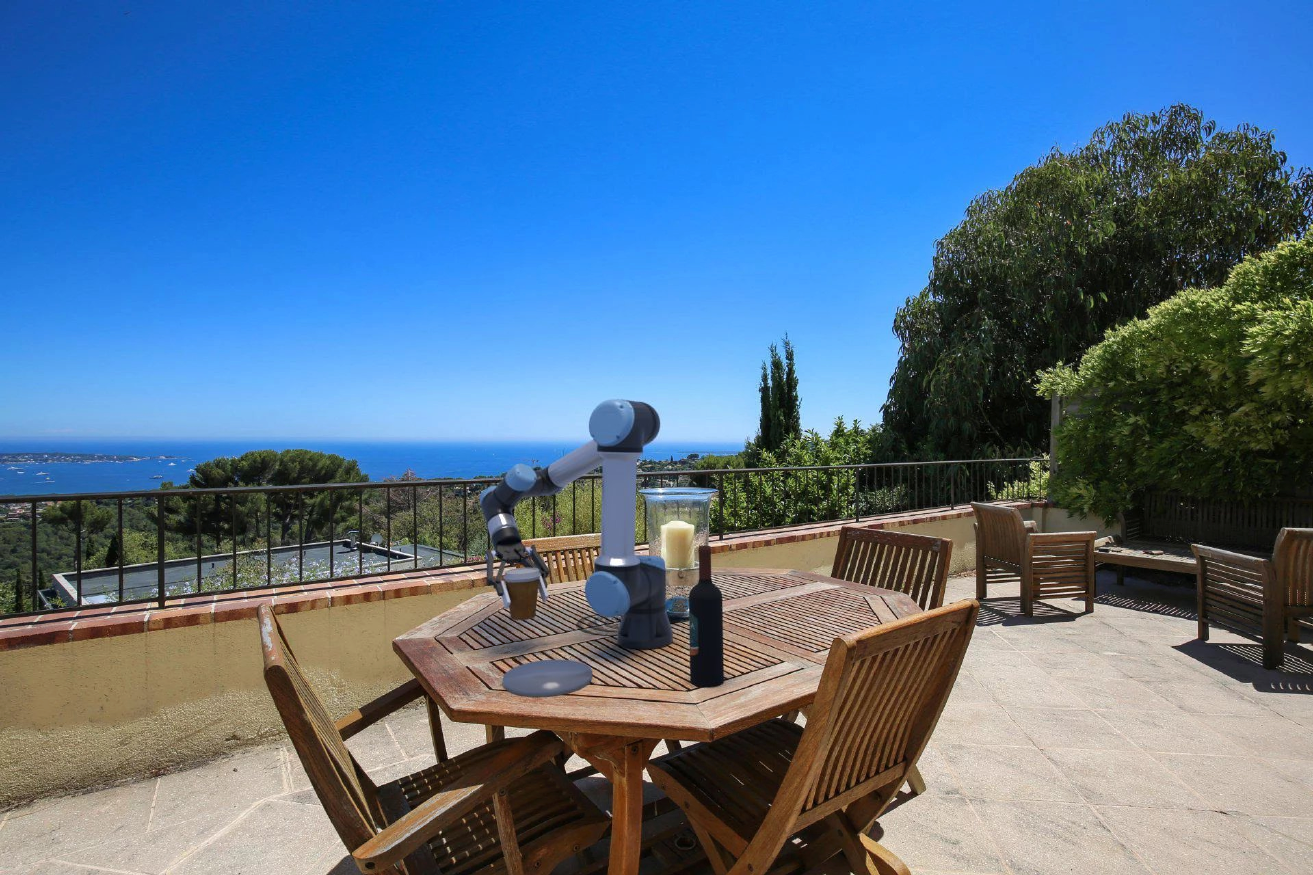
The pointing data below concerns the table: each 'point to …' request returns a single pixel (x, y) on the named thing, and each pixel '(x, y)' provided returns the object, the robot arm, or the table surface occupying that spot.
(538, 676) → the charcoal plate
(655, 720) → the table surface
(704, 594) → the wine bottle
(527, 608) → the disposable coffee cup
